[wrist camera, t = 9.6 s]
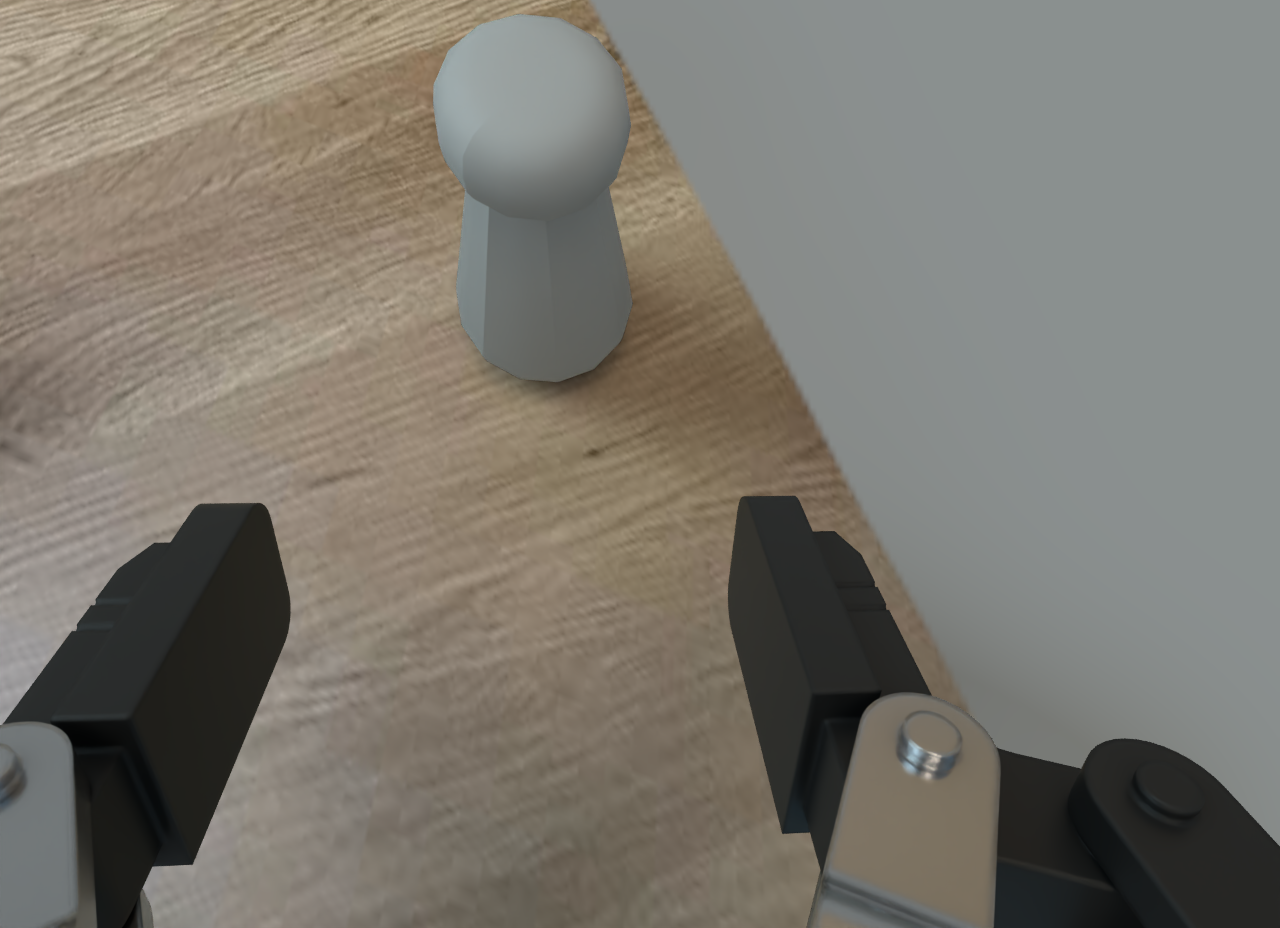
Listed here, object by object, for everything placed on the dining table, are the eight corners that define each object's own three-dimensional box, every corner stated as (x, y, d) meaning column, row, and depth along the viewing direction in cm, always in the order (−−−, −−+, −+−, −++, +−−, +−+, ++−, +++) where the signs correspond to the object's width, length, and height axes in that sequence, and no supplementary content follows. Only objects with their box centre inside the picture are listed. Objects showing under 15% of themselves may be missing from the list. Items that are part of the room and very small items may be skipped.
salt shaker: (457, 261, 30) (374, -33, 17) (611, 243, 30) (642, -51, 18) (478, 412, 28) (404, 217, 16) (638, 391, 29) (691, 185, 16)
